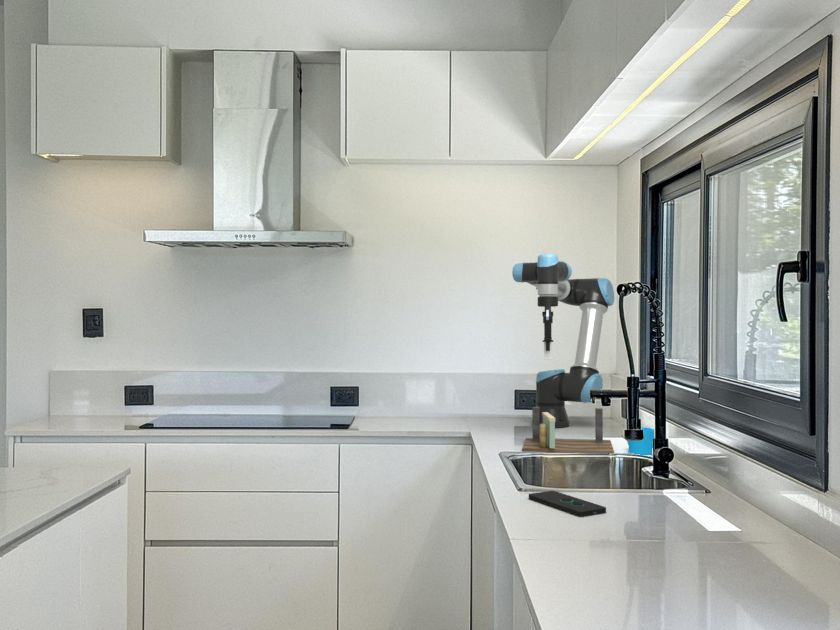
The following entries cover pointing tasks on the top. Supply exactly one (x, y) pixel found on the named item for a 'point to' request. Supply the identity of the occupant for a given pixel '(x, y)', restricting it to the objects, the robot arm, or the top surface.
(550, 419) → the bar
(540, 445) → the gate frame
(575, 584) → the top surface
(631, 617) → the top surface
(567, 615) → the top surface
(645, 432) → the mug
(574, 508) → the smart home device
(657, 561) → the top surface
